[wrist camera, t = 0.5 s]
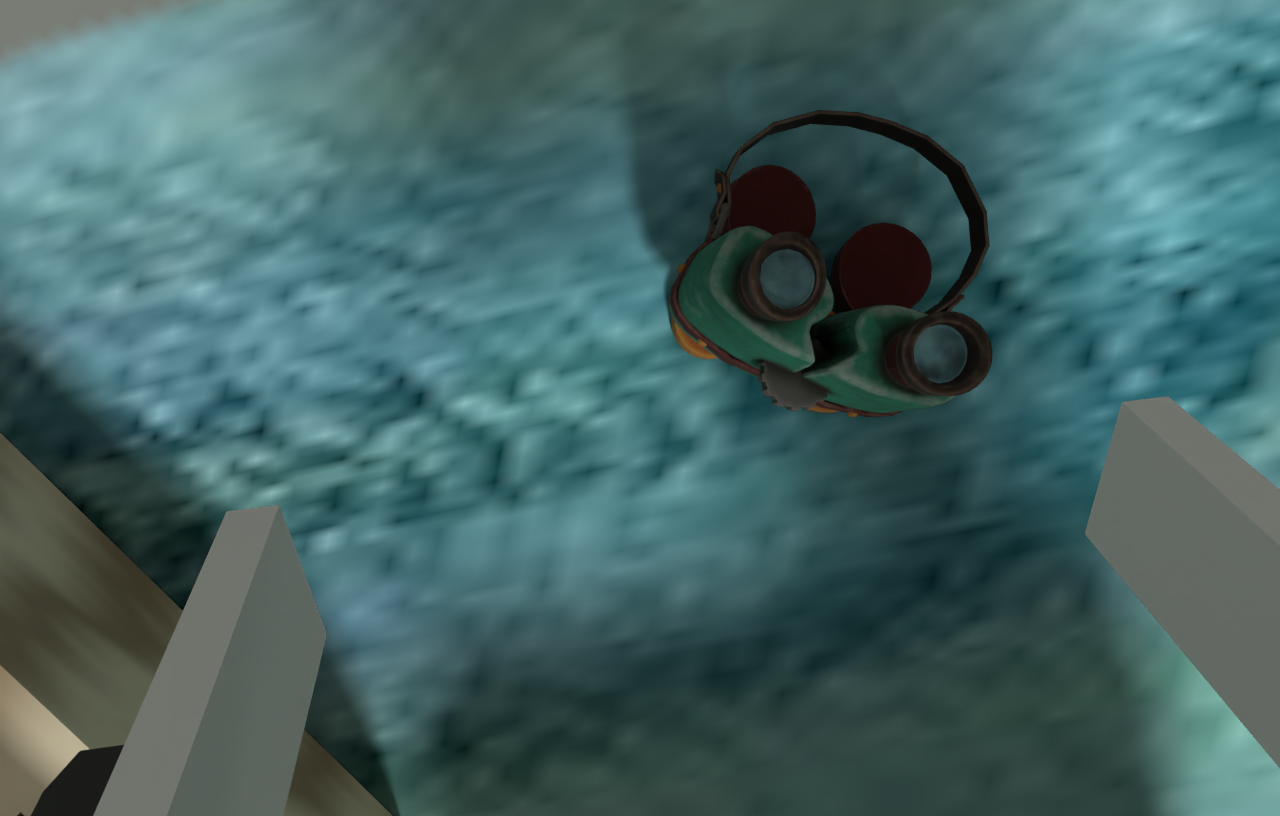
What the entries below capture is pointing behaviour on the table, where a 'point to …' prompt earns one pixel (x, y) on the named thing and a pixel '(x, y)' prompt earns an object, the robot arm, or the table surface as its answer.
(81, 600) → the frame
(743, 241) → the binoculars
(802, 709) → the table surface
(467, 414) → the table surface
